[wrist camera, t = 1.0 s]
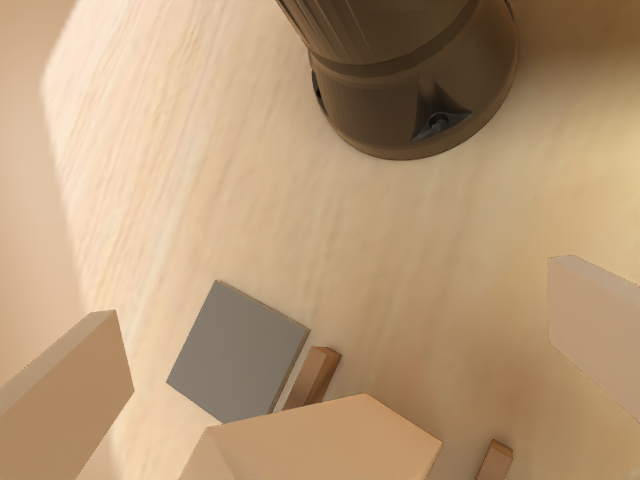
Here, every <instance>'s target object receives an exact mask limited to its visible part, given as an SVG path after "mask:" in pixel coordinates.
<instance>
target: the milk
mask: <svg viewBox="0 0 640 480" xmlns="http://www.w3.org/2000/svg"><path fill="white" fill-rule="evenodd" d="M442 446H443V443H442V442H441V441H439V440H438V439H436V438H434V437H433V436H431V435H430V434H428V433H427V432H425V431H424V430H422V429H420V428H419V427H417V426H416V425H414V424H413V423H411V422H410V421H408V420H407V419H405V418H403V417H402V416H400V415H399V414H397V413H396V412H394V411H393V410H391V409H389V408H388V407H386V406H385V405H383V404H382V403H380V402H379V401H377V400H376V399H374V398H372V397H371V396H369V395H368V394H366V393H362V394H357V395H353V396H348V397H344V398H339V399H335V400H330V401H326V402H321V403H317V404H312V405H307V406H303V407H298V408H294V409H289V410H285V411H280V412H276V413H271V414H267V415H262V416H258V417H253V418H249V419H244V420H240V421H235V422H230V423H226V424H221V425H217V426H212V427H208V428H206V429H205V430H204V432H203V434H202V436H201V438H200V440H199V441H198V443H197V445H196V447H195V449H194V451H193V453H192V455H191V457H190V458H189V460H188V462H187V464H186V466H185V468H184V470H183V472H182V474H181V476H180V477H179V479H178V480H425V479H426V477H427V475H428V473H429V471H430V469H431V467H432V465H433V463H434V461H435V460H436V458H437V456H438V454H439V452H440V450H441V448H442Z"/></svg>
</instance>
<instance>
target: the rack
mask: <svg viewBox="0 0 640 480" xmlns="http://www.w3.org/2000/svg"><path fill="white" fill-rule="evenodd" d="M341 356H342V355H340V354H338V353H337V352H335V351H333V350H331V349H329V348H327V347H313V346H312V347H311V349H310V352H309V354H308V356H307V358H306V360H305V362H304V364H303V367H302V369H301V371H300V373H299V375H298V377H297V379H296V381H295V384H294V386H293V388H292V390H291V392H290V394H289V396H288V399H287V401H286V403H285V405H284V407H283V409H282V411H285V410H289V409H294V408H298V407H303V406H307V405H312V404H317V403H320V401H321V399H322V397H323V395H324V393H325V390H326V388H327V386H328V384H329V382H330V380H331V377H332V375H333V373H334V371H335V369H336V367H337V364H338V362H339V360H340V358H341ZM512 460H513V450H512V449H510V448H508V447H506V446H504V445H503V444H501V443H499V442H497V441H495V440H494V439H493V441H492V443H491V445H490V448H489V450H488V452H487V454H486V457H485V459H484V461H483V464H482V466H481V468H480V470H479V473H478V475H477V477H476V480H504V478H505V476H506V474H507V471H508V469H509V467H510V464H511V462H512Z"/></svg>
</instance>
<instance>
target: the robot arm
mask: <svg viewBox="0 0 640 480" xmlns="http://www.w3.org/2000/svg"><path fill="white" fill-rule="evenodd" d="M276 2H277V3H278V5H279V6H280V8H281V9H282V11H283V12H284V14H285V15H286V17H287V18H288V20H289V21H290V23H291V24H292V26H293V27H294V29H295V30H296V32H297V33H298V35H299V36H300V37H301V39H302V40H303V42H304V44H305V45H306V47H307V48H308V54H309V61H310V66H311V69H312V81H313V87H314V92H315V96H316V99H317V102H318V104H319V106H320V108H321V111H322V112H323V114H324V116H325V117H326V119H327V120H328V121H329V123H330V124H331V125H332V127H333V128H334V129H335V130H336V132H337V133H338V134H339V135H340V136H341V137H342V138H343V139H344V140H345V141H346V142H347V143H349V144H350V145H352V146H353V147H355V148H356V149H358V150H360V151H362V152H364V153H367V154H369V155H372V156H376V157H380V158H385V159H394V160H408V159H417V158H423V157H427V156H431V155H434V154H438V153H440V152H443V151H446V150H448V149H450V148H452V147H454V146H456V145H458V144H460V143H461V142H463V141H465V140H466V139H468V138H469V137H471V136H472V135H473V134H475V133H476V132H477V131H478V130H480V129H481V128H482V127H483V126H484V125H485V124H486V123H487V122H488V121H489V120H490V119H491V118H492V117H493V115H494V114H495V113H496V112H497V110H498V109H499V107H500V106H501V105H502V103H503V101H504V100H505V98H506V96H507V94H508V92H509V90H510V88H511V85H512V83H513V79H514V76H515V72H516V67H517V57H518V33H517V25H516V21H515V17H514V13H513V10H512V8H511V6H510V3H509V1H508V0H276ZM548 285H549V343H550V344H551V345H553V346H554V347H555V348H556V349H557V350H558V351H559V352H560V353H561V354H563V355H564V356H565V357H566V358H567V359H568V360H569V361H570V362H571V363H573V364H574V365H575V366H576V367H577V368H578V369H579V370H580V371H582V372H583V373H584V374H585V375H586V376H587V377H588V378H589V379H590V380H592V381H593V382H594V383H595V384H596V385H597V386H598V387H599V388H600V389H602V390H603V391H604V392H605V393H606V394H607V395H608V396H609V397H611V398H612V399H613V400H614V401H615V402H616V403H617V404H618V405H619V406H621V407H622V408H623V409H624V410H625V411H626V412H627V413H628V414H629V415H631V416H632V417H633V418H634V419H635V420H636V421H637V422H638V423H639V424H640V287H639V286H637V285H635V284H633V283H631V282H629V281H627V280H625V279H623V278H620V277H618V276H616V275H614V274H612V273H610V272H608V271H606V270H604V269H602V268H600V267H598V266H596V265H593V264H591V263H589V262H587V261H585V260H583V259H581V258H579V257H577V256H575V255H570V256H561V257H553V258H548ZM133 393H134V387H133V382H132V378H131V374H130V369H129V365H128V361H127V356H126V352H125V348H124V344H123V339H122V335H121V331H120V326H119V322H118V318H117V313H116V310H108V311H100V312H91V313H90V314H88V315H87V316H86V317H85V318H84V319H82V320H81V321H80V322H79V323H78V324H76V325H75V326H74V327H73V328H72V329H70V330H69V331H68V332H67V333H66V334H64V335H63V336H62V337H61V338H60V339H58V340H57V341H56V342H55V343H54V344H52V345H51V346H50V347H49V348H48V349H46V350H45V351H44V352H43V353H42V354H40V356H38V357H37V358H36V359H34V361H32V362H31V363H30V364H29V365H27V366H26V367H25V368H24V369H23V370H21V371H20V372H19V373H18V374H17V375H15V376H14V377H13V378H12V379H11V380H10V381H8V382H7V383H6V384H5V385H3V386H2V387H1V388H0V480H75V479H76V478H77V476H78V475H79V473H80V472H81V470H82V469H83V467H84V466H85V464H86V463H87V461H88V460H89V458H90V457H91V455H92V453H93V452H94V451H95V449H96V448H97V446H98V445H99V443H100V442H101V440H102V439H103V437H104V436H105V434H106V433H107V431H108V430H109V428H110V427H111V425H112V424H113V422H114V421H115V419H116V418H117V416H118V415H119V413H120V412H121V410H122V409H123V407H124V406H125V405H126V403H127V402H128V400H129V399H130V397H131V396H132V394H133Z"/></svg>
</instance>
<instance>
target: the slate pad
mask: <svg viewBox="0 0 640 480" xmlns="http://www.w3.org/2000/svg"><path fill="white" fill-rule="evenodd" d="M309 332H310V330H309V329H307V328H306V327H304V326H302V325H300V324H298V323H296V322H295V321H293V320H291V319H289V318H287V317H285V316H284V315H282V314H280V313H278V312H276V311H274V310H273V309H271V308H269V307H267V306H265V305H263V304H262V303H260V302H258V301H256V300H254V299H252V298H251V297H249V296H247V295H245V294H243V293H241V292H240V291H238V290H236V289H234V288H232V287H230V286H229V285H227V284H225V283H223V282H221V281H218V280H215V282H214V284H213V286H212V288H211V290H210V292H209V294H208V296H207V298H206V300H205V302H204V304H203V306H202V308H201V311H200V313H199V315H198V317H197V319H196V321H195V323H194V325H193V327H192V329H191V331H190V333H189V335H188V337H187V340H186V342H185V344H184V346H183V348H182V350H181V352H180V354H179V356H178V358H177V360H176V362H175V364H174V366H173V368H172V371H171V373H170V375H169V377H168V379H167V381H166V383H167V384H169V385H170V386H172V387H173V388H174V389H176V390H177V391H179V392H180V393H181V394H183V395H184V396H186V397H187V398H188V399H190V400H191V401H193V402H194V403H195V404H197V405H198V406H200V407H201V408H202V409H204V410H205V411H207V412H208V413H209V414H211V415H212V416H213V417H215V418H216V419H218V420H219V421H220V422H222V423H223V424H226V423H230V422H235V421H240V420H244V419H249V418H253V417H258V416H262V415H267V414H271V413H272V411H273V409H274V407H275V405H276V402H277V400H278V398H279V396H280V394H281V392H282V390H283V387H284V385H285V383H286V381H287V379H288V377H289V375H290V373H291V370H292V368H293V366H294V364H295V362H296V360H297V358H298V355H299V353H300V351H301V349H302V347H303V345H304V343H305V341H306V338H307V336H308V334H309Z"/></svg>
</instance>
